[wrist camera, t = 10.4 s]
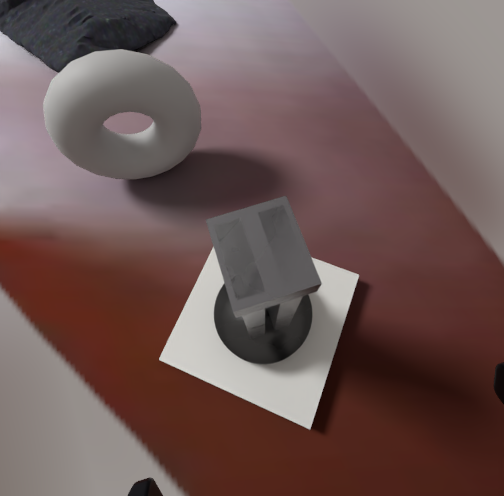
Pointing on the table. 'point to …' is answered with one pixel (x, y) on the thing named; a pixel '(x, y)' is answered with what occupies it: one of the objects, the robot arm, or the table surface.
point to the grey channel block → (263, 282)
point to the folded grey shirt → (81, 26)
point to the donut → (117, 101)
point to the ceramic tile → (271, 375)
